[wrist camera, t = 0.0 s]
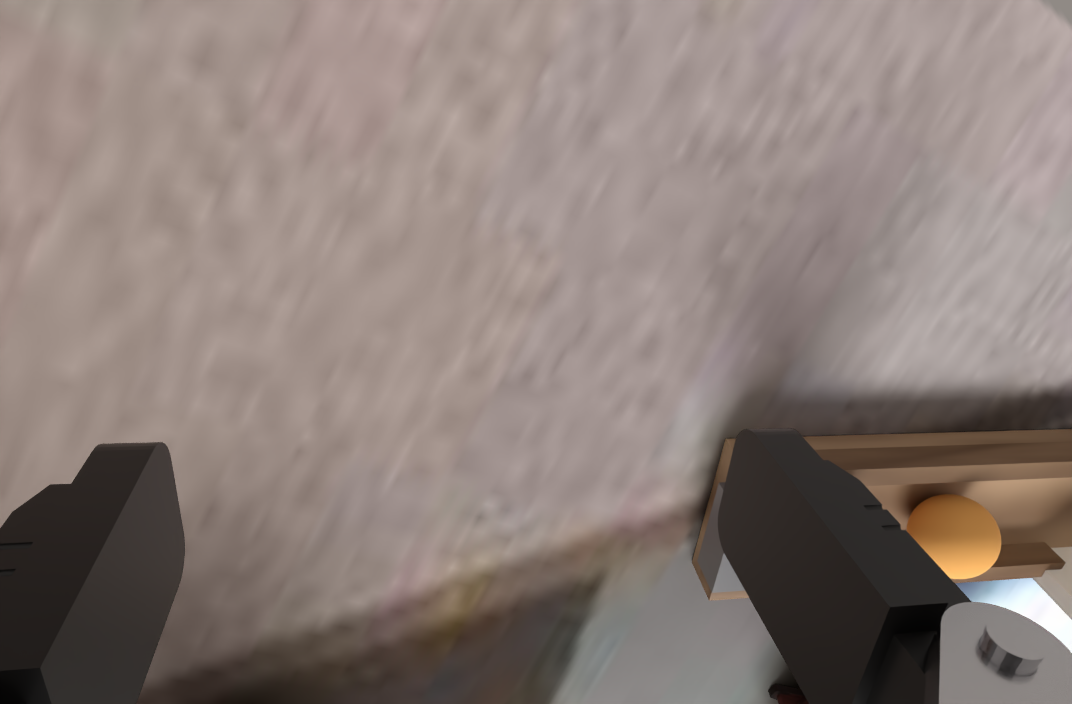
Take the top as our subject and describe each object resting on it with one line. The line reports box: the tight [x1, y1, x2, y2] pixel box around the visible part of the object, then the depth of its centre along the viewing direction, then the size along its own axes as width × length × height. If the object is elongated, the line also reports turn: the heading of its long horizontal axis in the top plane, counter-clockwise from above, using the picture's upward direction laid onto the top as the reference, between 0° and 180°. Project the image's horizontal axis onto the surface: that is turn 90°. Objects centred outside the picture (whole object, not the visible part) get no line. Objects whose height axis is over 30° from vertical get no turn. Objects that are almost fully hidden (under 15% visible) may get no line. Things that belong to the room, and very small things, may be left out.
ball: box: [907, 494, 1001, 579], centre depth 35 cm, size 4×4×4 cm
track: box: [692, 429, 1072, 601], centre depth 37 cm, size 8×26×2 cm, turn 85°
